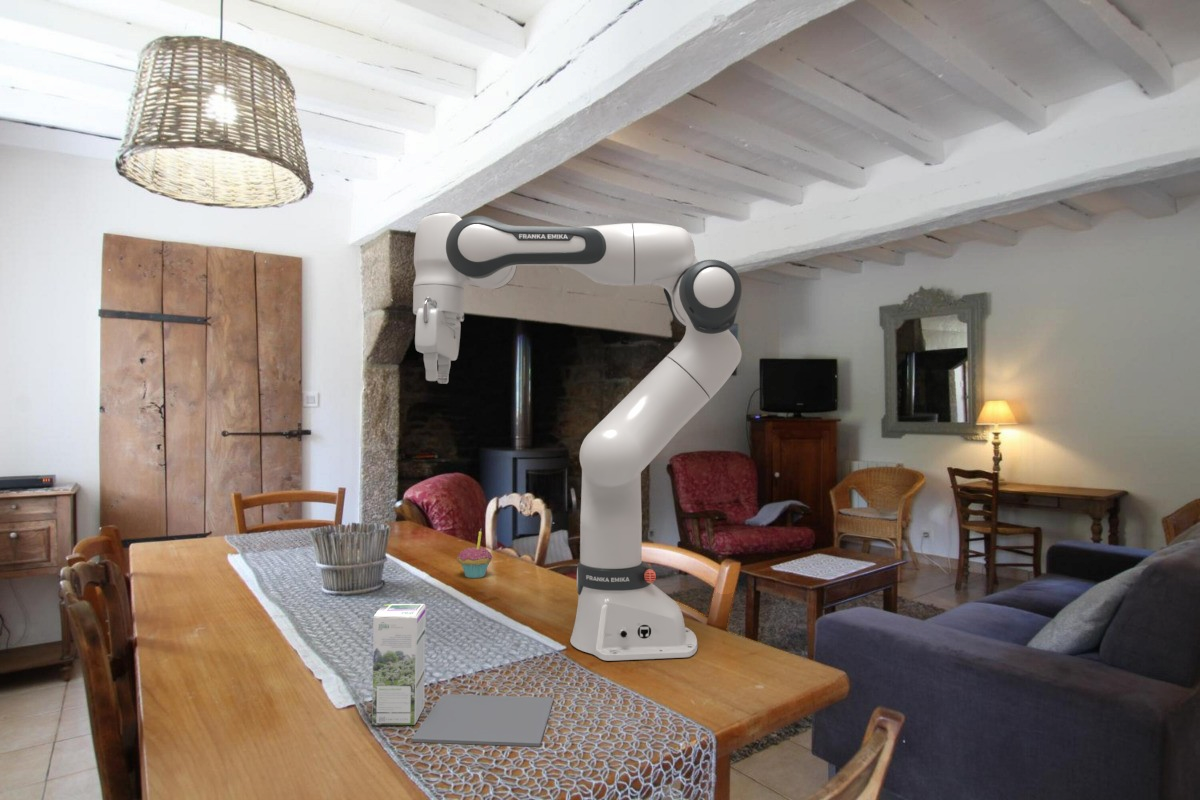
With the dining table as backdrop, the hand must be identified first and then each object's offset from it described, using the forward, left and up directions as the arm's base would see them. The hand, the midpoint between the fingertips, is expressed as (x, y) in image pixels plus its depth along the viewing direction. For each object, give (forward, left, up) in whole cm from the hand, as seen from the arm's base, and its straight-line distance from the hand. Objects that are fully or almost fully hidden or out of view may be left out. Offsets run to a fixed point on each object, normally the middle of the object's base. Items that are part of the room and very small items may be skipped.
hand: (437, 382), depth 117 cm
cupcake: (+5, -48, -46) cm, 67 cm away
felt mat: (-16, +28, -46) cm, 57 cm away
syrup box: (-4, +28, -46) cm, 55 cm away
